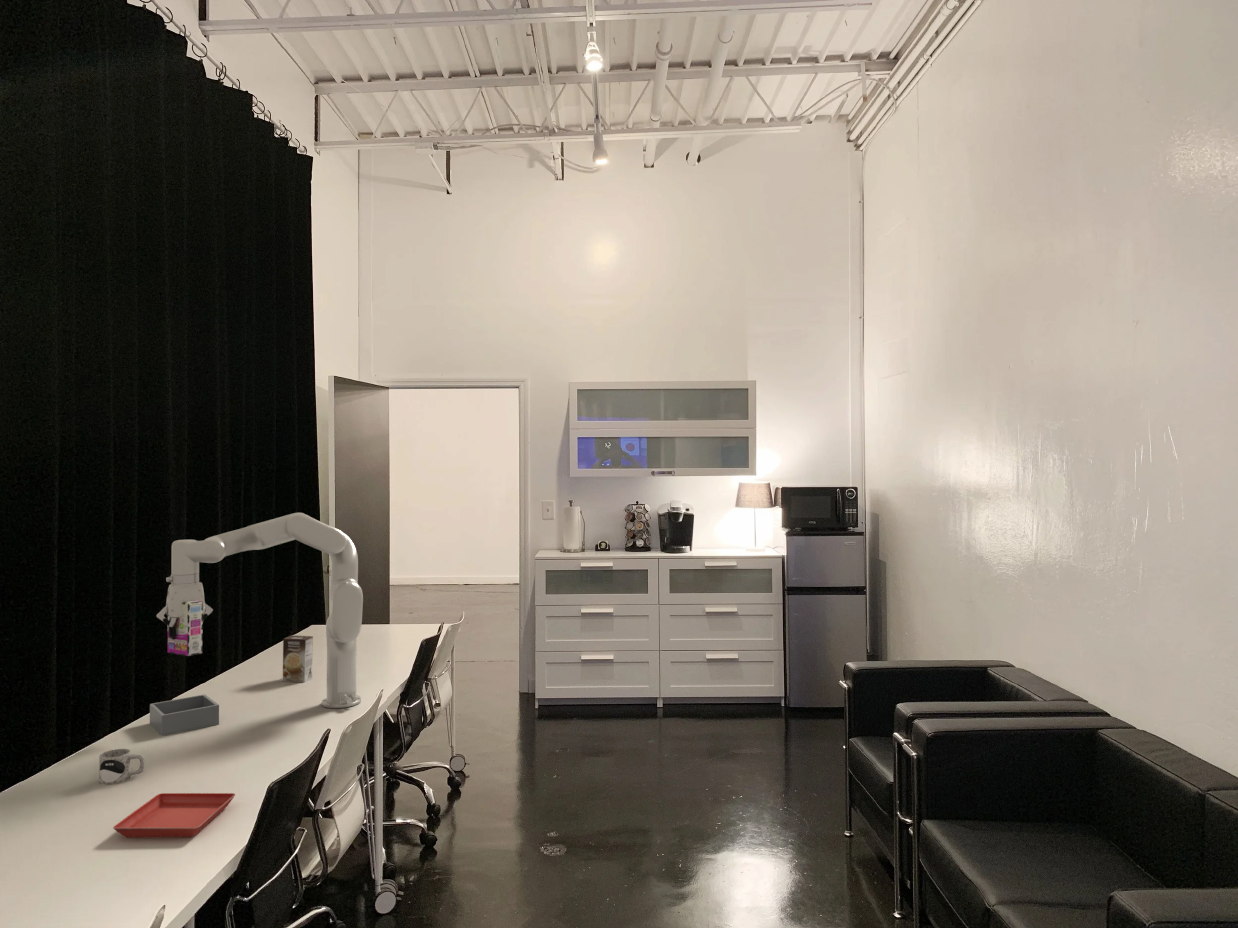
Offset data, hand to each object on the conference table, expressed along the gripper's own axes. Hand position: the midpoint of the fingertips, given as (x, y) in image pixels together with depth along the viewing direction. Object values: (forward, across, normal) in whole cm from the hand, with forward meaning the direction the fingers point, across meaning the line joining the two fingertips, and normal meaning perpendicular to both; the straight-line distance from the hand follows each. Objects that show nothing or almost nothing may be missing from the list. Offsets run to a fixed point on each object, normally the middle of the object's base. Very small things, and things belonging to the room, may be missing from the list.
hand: (185, 636), depth 241 cm
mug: (+27, -23, -37) cm, 52 cm away
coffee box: (+27, +45, +28) cm, 60 cm away
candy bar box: (+5, 0, 0) cm, 5 cm away
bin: (+27, 0, 0) cm, 27 cm away
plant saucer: (+28, -19, -74) cm, 81 cm away
